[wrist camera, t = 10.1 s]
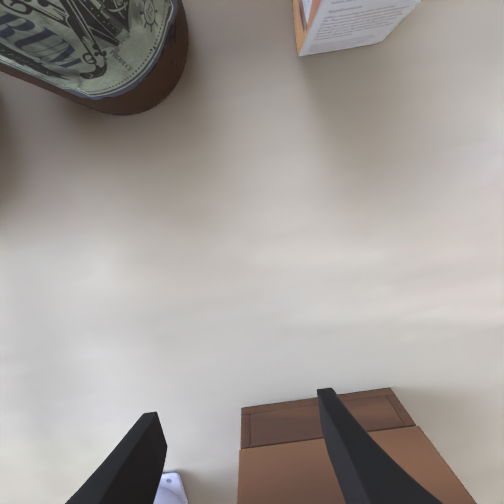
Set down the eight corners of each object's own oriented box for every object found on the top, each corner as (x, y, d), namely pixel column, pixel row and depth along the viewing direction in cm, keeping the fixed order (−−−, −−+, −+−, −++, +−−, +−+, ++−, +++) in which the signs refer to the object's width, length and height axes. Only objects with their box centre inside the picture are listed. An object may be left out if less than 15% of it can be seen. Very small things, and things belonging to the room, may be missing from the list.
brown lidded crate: (392, 474, 27) (415, 521, 23) (258, 491, 27) (259, 540, 23) (390, 387, 24) (416, 424, 20) (241, 407, 24) (240, 447, 21)
